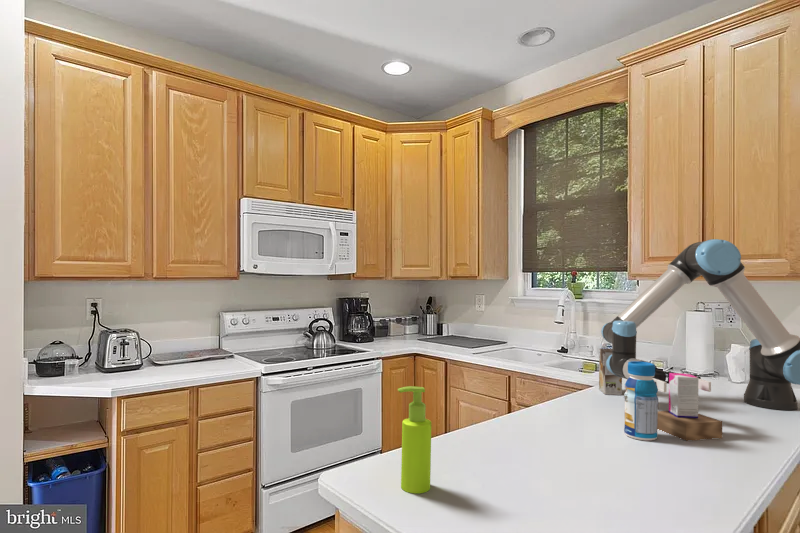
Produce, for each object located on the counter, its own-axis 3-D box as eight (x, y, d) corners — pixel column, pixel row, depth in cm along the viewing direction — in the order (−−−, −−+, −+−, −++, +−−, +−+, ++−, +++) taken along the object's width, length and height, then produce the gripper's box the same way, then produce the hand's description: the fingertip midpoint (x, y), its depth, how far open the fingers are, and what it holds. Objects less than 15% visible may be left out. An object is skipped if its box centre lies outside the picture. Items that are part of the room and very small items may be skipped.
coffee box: (622, 395, 180) (623, 352, 180) (604, 394, 180) (605, 351, 181) (615, 390, 189) (615, 348, 189) (598, 389, 190) (598, 348, 190)
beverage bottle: (650, 443, 126) (651, 367, 127) (618, 435, 133) (618, 362, 133) (663, 437, 132) (663, 363, 132) (631, 429, 138) (632, 359, 139)
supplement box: (699, 418, 134) (699, 377, 134) (676, 418, 135) (676, 376, 135) (689, 412, 140) (689, 373, 140) (667, 411, 141) (667, 372, 141)
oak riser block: (686, 426, 144) (686, 409, 144) (722, 439, 132) (722, 421, 132) (652, 428, 141) (652, 411, 141) (686, 442, 129) (686, 423, 130)
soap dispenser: (394, 481, 100) (396, 384, 100) (427, 480, 101) (429, 384, 101) (397, 493, 94) (399, 390, 95) (432, 493, 95) (434, 390, 95)
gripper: (676, 383, 158) (728, 400, 137) (604, 384, 155) (646, 400, 134) (676, 360, 158) (728, 373, 137) (605, 360, 155) (646, 373, 134)
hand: (687, 387), depth 136 cm, fingers open, 13 cm apart
